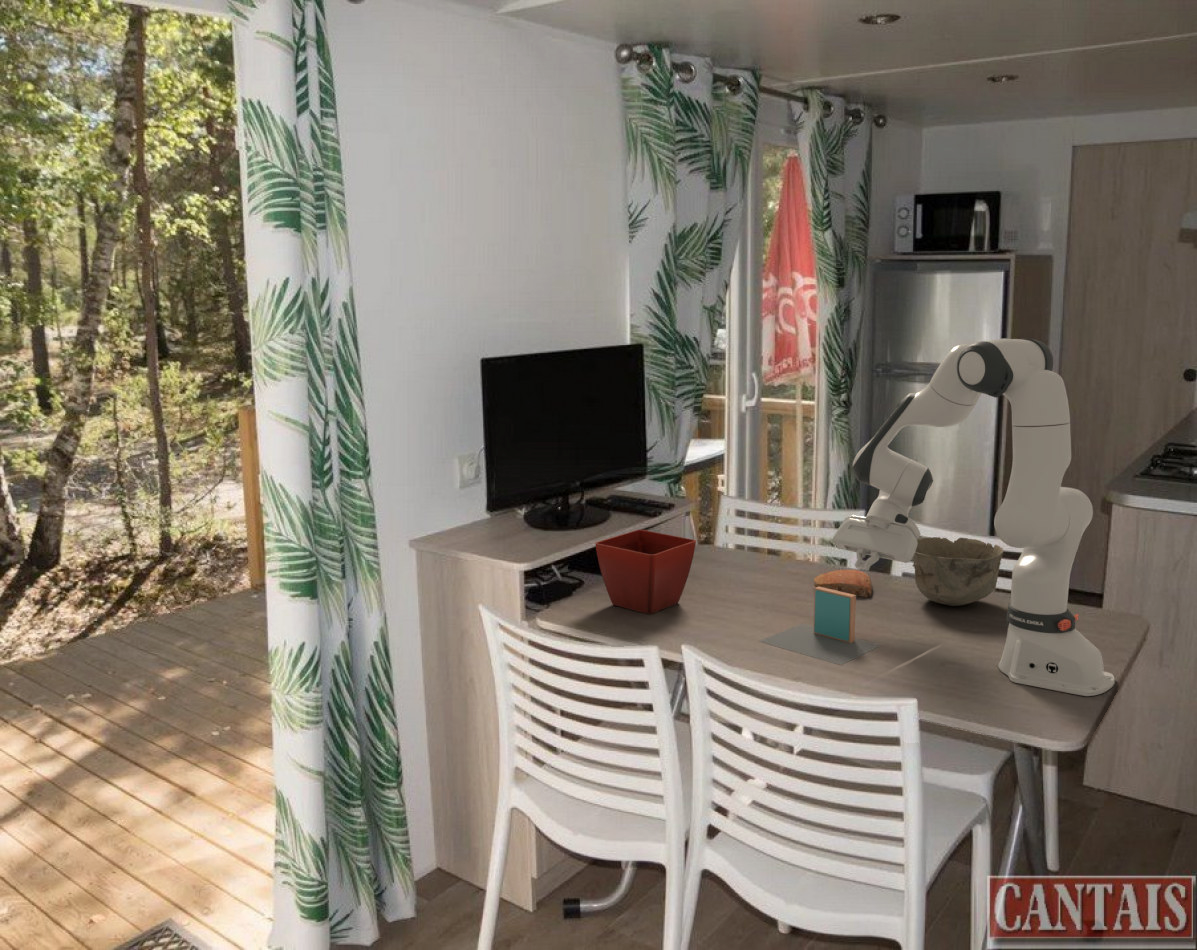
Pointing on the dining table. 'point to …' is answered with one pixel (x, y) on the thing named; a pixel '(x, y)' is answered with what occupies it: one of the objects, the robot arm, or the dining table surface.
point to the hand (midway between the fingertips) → (861, 568)
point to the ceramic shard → (846, 582)
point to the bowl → (956, 569)
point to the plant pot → (645, 569)
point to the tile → (834, 614)
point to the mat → (819, 645)
